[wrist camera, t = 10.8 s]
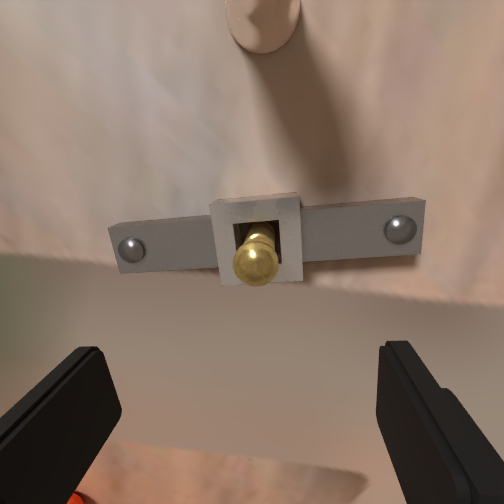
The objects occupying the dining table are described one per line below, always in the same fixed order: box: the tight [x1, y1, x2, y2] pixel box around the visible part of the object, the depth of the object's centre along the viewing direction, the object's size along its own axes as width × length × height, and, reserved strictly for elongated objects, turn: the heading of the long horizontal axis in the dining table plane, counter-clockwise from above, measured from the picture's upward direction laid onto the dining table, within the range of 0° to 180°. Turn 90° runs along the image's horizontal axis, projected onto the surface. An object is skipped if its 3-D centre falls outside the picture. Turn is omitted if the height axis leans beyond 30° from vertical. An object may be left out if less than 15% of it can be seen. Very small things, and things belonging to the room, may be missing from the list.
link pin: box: [233, 222, 279, 286], centre depth 24 cm, size 3×3×9 cm
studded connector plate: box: [108, 192, 426, 286], centre depth 27 cm, size 30×8×4 cm, turn 96°
